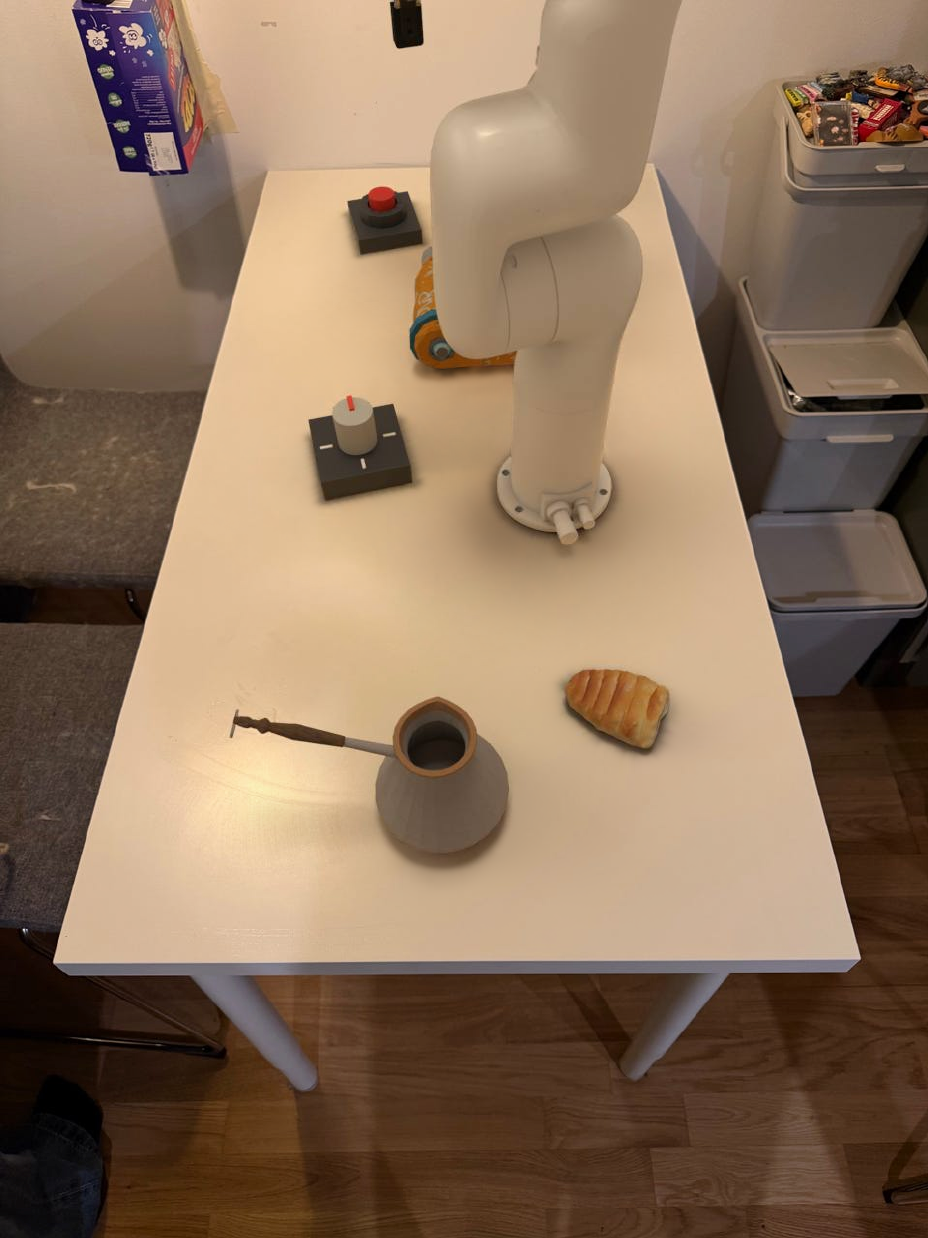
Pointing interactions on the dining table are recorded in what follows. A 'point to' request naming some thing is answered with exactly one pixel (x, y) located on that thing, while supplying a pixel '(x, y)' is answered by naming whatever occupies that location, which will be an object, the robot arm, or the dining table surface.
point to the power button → (381, 199)
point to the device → (438, 328)
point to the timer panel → (361, 457)
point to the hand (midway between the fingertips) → (408, 43)
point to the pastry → (619, 704)
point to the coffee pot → (425, 774)
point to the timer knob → (355, 425)
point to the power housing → (385, 224)
